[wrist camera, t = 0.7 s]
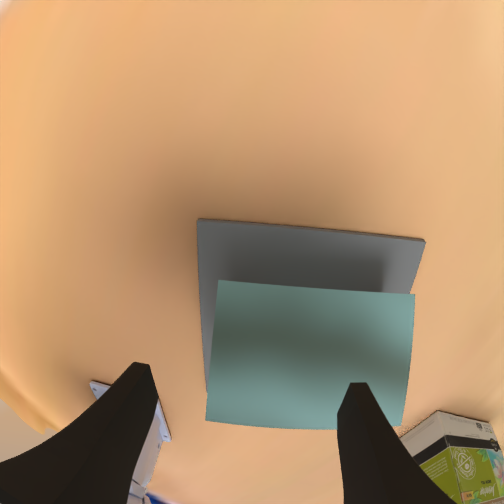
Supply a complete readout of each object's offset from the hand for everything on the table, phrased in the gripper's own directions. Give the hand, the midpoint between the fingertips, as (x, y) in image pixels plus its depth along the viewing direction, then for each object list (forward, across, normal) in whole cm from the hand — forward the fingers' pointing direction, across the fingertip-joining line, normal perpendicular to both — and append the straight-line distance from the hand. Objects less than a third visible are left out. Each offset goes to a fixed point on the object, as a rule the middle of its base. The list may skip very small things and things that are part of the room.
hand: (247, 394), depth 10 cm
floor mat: (+10, -3, +6) cm, 12 cm away
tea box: (+10, -25, +24) cm, 36 cm away
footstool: (+7, -3, +5) cm, 9 cm away
